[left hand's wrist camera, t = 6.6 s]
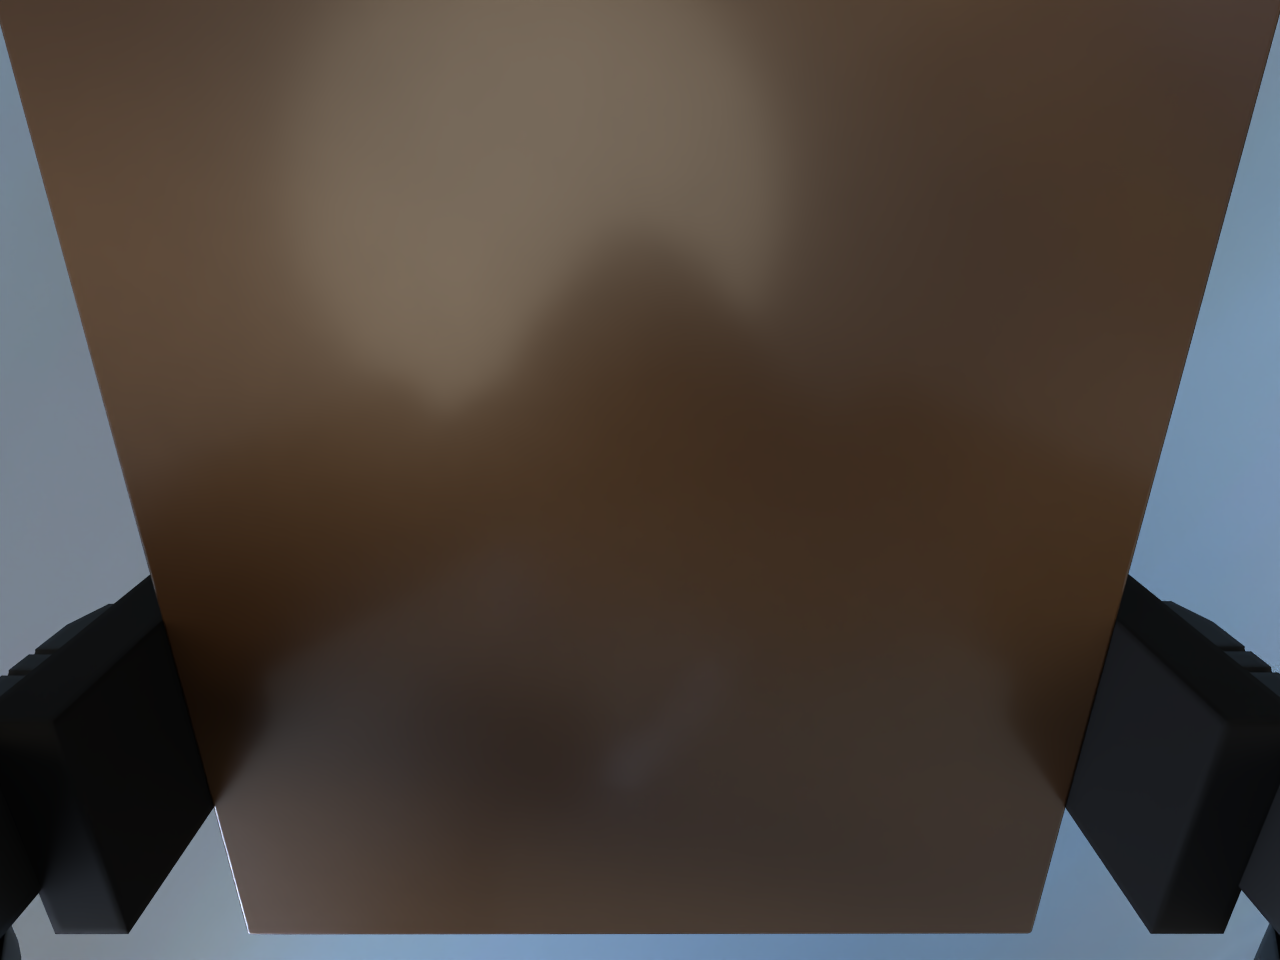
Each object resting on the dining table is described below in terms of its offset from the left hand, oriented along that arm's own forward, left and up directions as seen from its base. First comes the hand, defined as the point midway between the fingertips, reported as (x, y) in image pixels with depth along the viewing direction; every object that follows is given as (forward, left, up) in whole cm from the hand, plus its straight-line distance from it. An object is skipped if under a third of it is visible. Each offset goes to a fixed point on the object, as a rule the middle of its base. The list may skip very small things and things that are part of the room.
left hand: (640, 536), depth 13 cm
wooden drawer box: (+7, -2, -6) cm, 9 cm away
